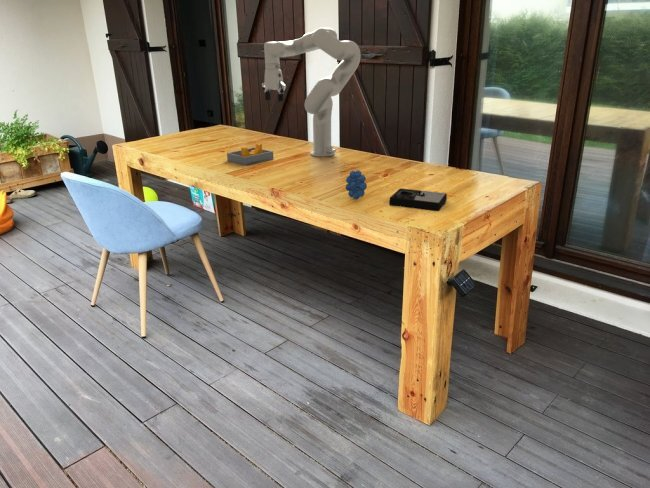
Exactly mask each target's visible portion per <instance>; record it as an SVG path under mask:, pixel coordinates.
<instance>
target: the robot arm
mask: <svg viewBox="0 0 650 488" xmlns="http://www.w3.org/2000/svg"><path fill="white" fill-rule="evenodd" d="M263 47H264V48H263V49H264V51H263V52H264V64H265V68H264V82H262V83H261V87H262V90H263V92H264V94H265V97H264V99H265V101H270V100H271V99H272V98H271V92H270V91H271V90H274V91H277V92H278V94H277V97H278V98H277V99H278V100H277V101H278V102H284V94H285V91H286V88H287V85H286V84H285V83H284V78H283V73H282V69H281V64H280V58H287V57H294V56H298V55H301V54H305V53H310V52H314V51H317V50H321V51H322V52H324V53H325V54H327V55H328V56H330V57H331V58H332V59H334V60H336V61H340V63H338V65H337V66H336V67H335V68H334V70H333V71H332V73H331V74H330V75H329V76H326V77H323V78H320V79H319V80H318V81H316V83H315V85H314V86H313V88H312V89H311V91H310V92H309V94H308V95H307V97H306V98H305V100H304V109H305V111H306V112H307V113H309V114H310V115H313V117H312V140H313V141H312V143H313V144H312V145H313V150H311V151H310V155H311V156H313V157H318V158H319V157H320V158H321V157H322V158H323V157H331V156H334V155H335V153H336V152H337V149H335V148H334V146H333V145H332V111H333V105H334V104H333V102H334V101H333V97H334V96H338V95H339V94H340V93H341V92H342V90H343V89H344V88H345V86H346V85H347V83H348V82H349V80H350V79H351V78H352V76H353V74H354V73H355V72H356V70H357V69H358V67H359V64H360V63H361V62H360V61H361V57H362V56H361V55H362V53H361V50H360V47H359V45H358V44H357V43H356V42H354V41H352V40H340V39H338V34H337V32H336V30H335V29H333V28H331V27H319V28H316V29H315V30H314V31H310V32H307V33H305V34H303V36H302V37H300V38H296V39H293V40H283V41H266V42H264V44H263Z"/></svg>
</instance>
